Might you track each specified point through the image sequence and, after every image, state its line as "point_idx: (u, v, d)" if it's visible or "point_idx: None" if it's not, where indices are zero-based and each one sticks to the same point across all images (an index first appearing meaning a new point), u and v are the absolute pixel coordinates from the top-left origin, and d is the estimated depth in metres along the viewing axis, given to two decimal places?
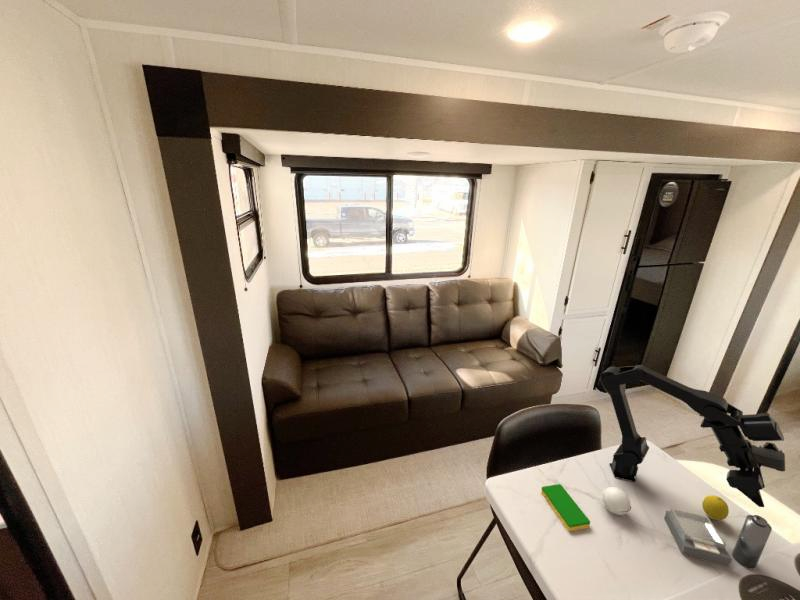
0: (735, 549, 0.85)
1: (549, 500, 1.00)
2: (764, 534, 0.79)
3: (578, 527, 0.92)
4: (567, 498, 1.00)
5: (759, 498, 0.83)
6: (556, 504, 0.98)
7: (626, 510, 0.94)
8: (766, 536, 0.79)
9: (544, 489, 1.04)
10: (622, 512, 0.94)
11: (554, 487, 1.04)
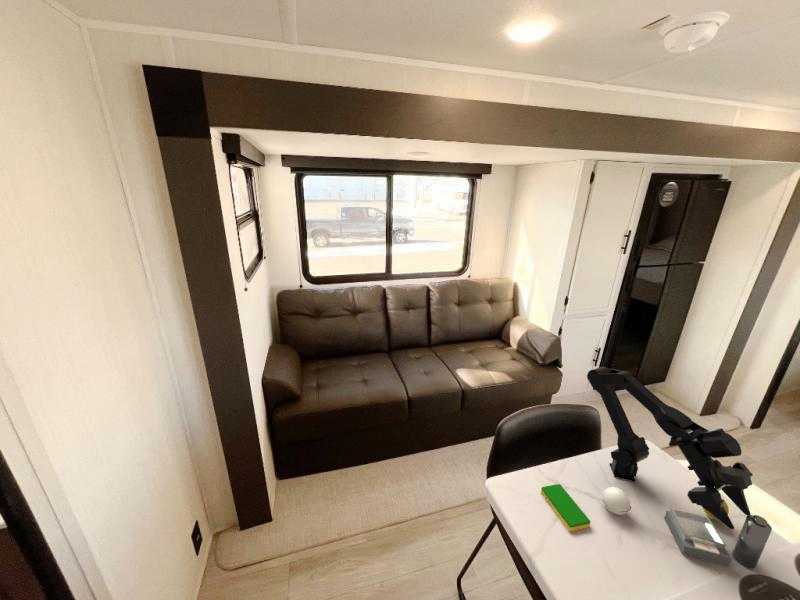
0: (735, 549, 0.85)
1: (549, 500, 1.00)
2: (764, 534, 0.79)
3: (579, 527, 0.92)
4: (567, 498, 1.00)
5: (725, 518, 0.83)
6: (556, 504, 0.98)
7: (626, 510, 0.94)
8: (766, 536, 0.79)
9: (544, 489, 1.03)
10: (622, 512, 0.94)
11: (554, 487, 1.04)
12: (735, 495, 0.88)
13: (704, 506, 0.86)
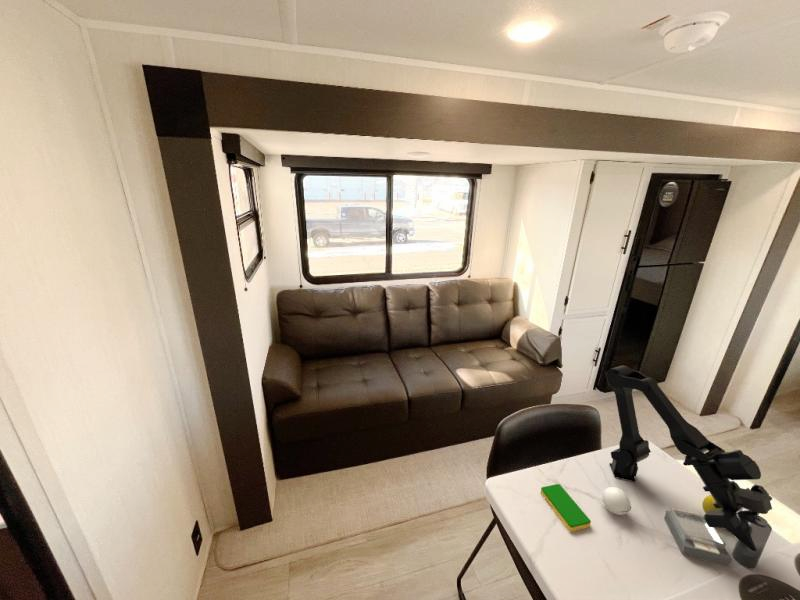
0: (735, 549, 0.85)
1: (549, 500, 1.00)
2: (764, 534, 0.79)
3: (579, 527, 0.92)
4: (567, 498, 1.00)
5: (747, 539, 0.81)
6: (556, 504, 0.98)
7: (626, 510, 0.94)
8: (766, 536, 0.79)
9: (544, 489, 1.03)
10: (622, 512, 0.94)
11: (553, 487, 1.04)
12: None
13: None
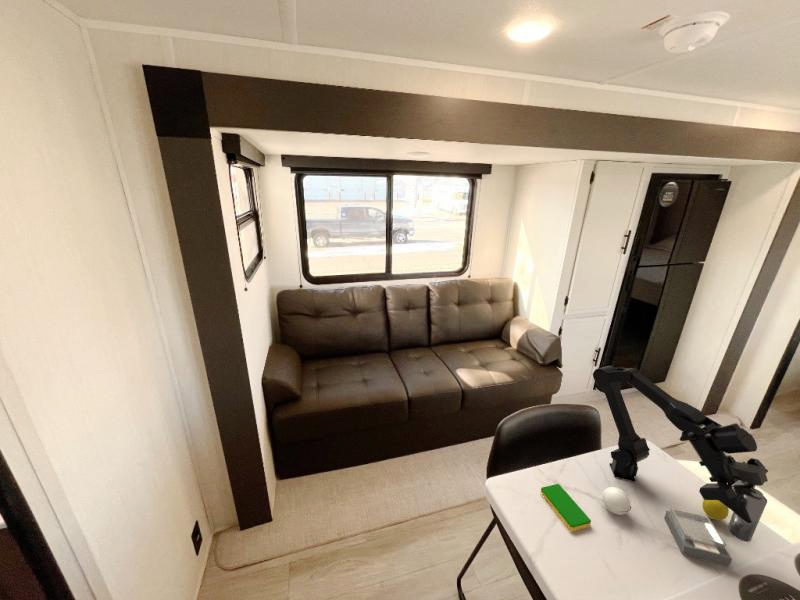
0: (730, 522, 0.85)
1: (549, 501, 1.00)
2: (759, 506, 0.79)
3: (580, 527, 0.92)
4: (566, 498, 1.00)
5: (742, 511, 0.81)
6: (557, 504, 0.98)
7: (626, 510, 0.94)
8: (761, 508, 0.79)
9: (543, 490, 1.03)
10: (622, 512, 0.94)
11: (553, 487, 1.04)
12: None
13: (721, 500, 0.84)
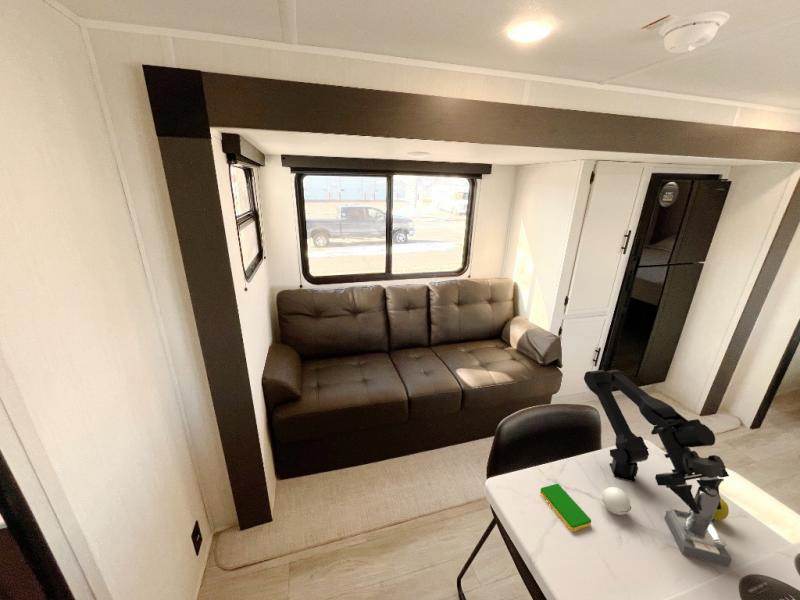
0: (687, 516, 0.90)
1: (549, 501, 1.00)
2: (710, 502, 0.84)
3: (580, 527, 0.92)
4: (566, 498, 1.00)
5: (691, 502, 0.86)
6: (557, 505, 0.98)
7: (626, 510, 0.94)
8: (713, 505, 0.84)
9: (543, 490, 1.03)
10: (622, 512, 0.94)
11: (552, 487, 1.04)
12: None
13: (674, 490, 0.89)
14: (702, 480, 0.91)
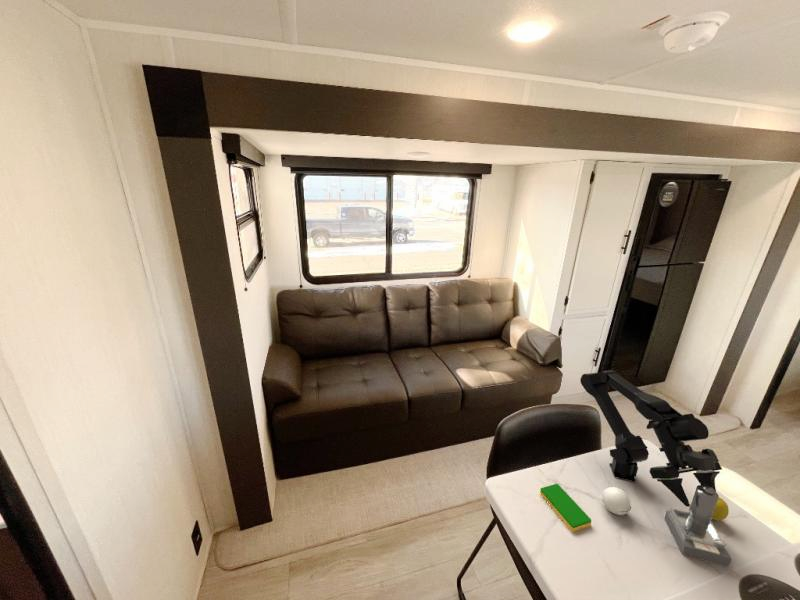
0: (687, 516, 0.90)
1: (549, 501, 1.00)
2: (708, 501, 0.84)
3: (581, 527, 0.92)
4: (566, 497, 1.00)
5: (681, 495, 0.87)
6: (557, 505, 0.98)
7: (626, 510, 0.94)
8: (711, 503, 0.84)
9: (543, 490, 1.03)
10: (622, 512, 0.94)
11: (552, 487, 1.04)
12: (705, 481, 0.90)
13: (665, 483, 0.91)
14: (698, 473, 0.92)
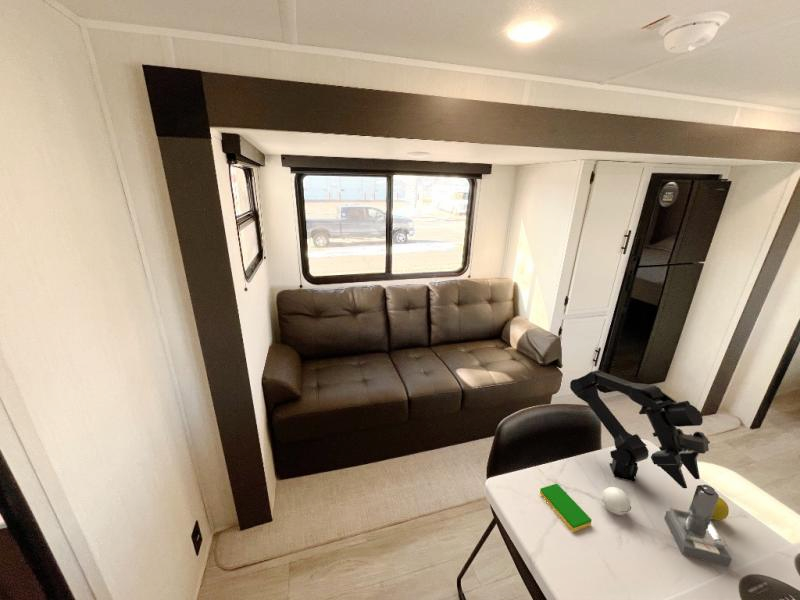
0: (687, 516, 0.90)
1: (549, 502, 1.00)
2: (708, 501, 0.84)
3: (581, 527, 0.92)
4: (566, 497, 1.00)
5: (681, 478, 0.90)
6: (557, 505, 0.98)
7: (626, 510, 0.94)
8: (711, 503, 0.84)
9: (543, 491, 1.03)
10: (622, 512, 0.94)
11: (552, 487, 1.04)
12: (689, 461, 0.97)
13: (663, 468, 0.93)
14: (681, 453, 0.98)
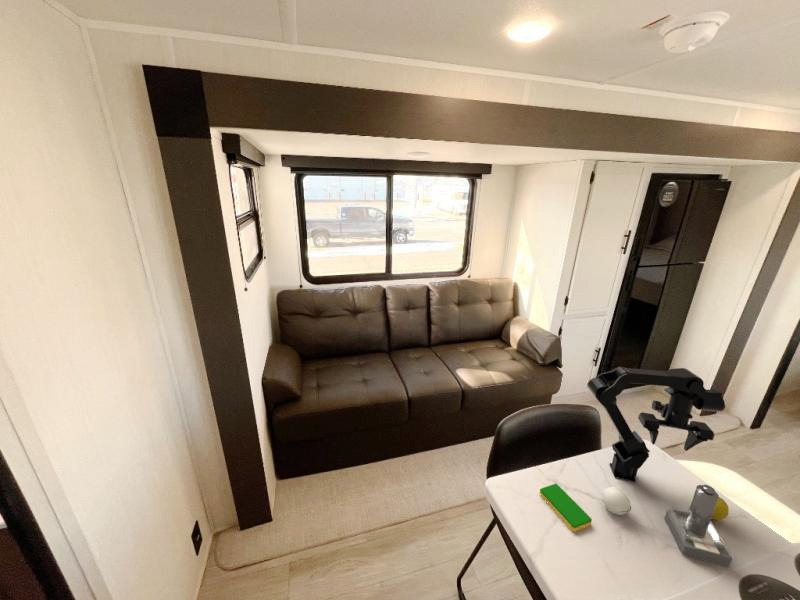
0: (687, 516, 0.90)
1: (549, 502, 1.00)
2: (708, 501, 0.84)
3: (582, 526, 0.93)
4: (566, 497, 1.00)
5: None
6: (557, 505, 0.98)
7: (626, 510, 0.94)
8: (711, 503, 0.84)
9: (543, 491, 1.03)
10: (622, 512, 0.94)
11: (551, 487, 1.04)
12: None
13: None
14: None
